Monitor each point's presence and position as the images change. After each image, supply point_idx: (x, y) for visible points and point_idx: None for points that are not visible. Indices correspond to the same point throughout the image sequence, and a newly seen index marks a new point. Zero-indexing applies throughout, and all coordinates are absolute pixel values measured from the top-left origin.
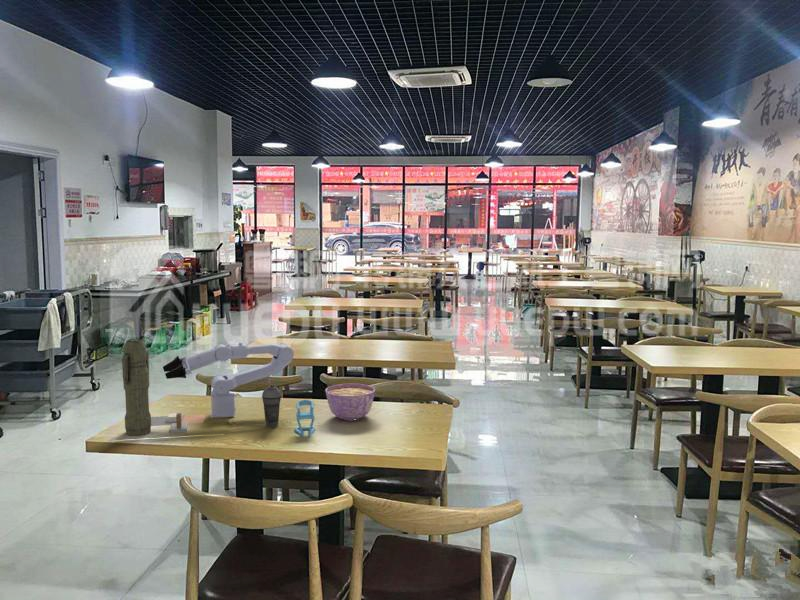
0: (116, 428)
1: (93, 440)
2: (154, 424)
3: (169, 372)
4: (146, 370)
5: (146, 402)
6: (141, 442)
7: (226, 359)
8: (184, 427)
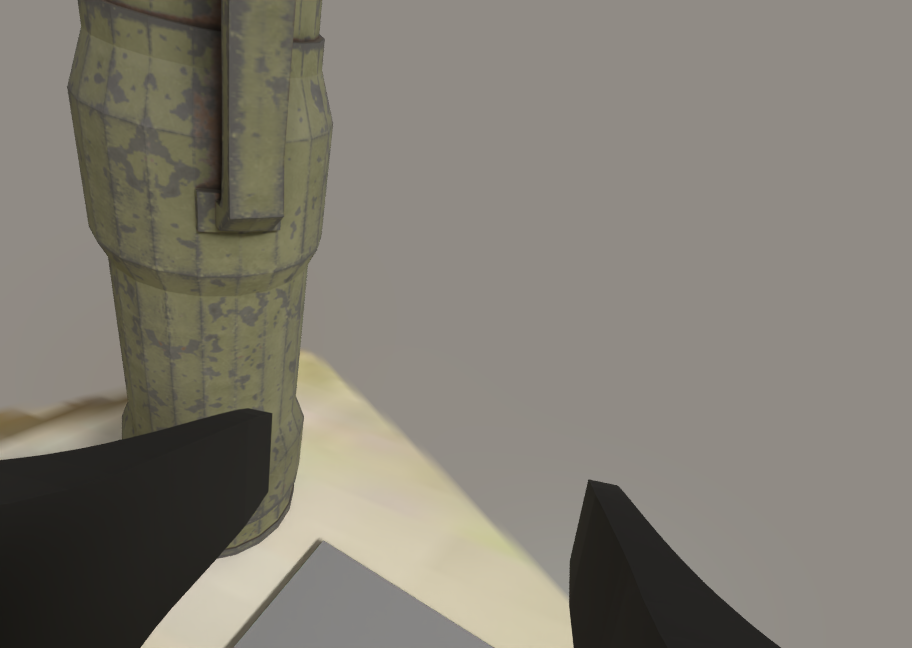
0: (406, 462)
1: (305, 353)
2: (285, 632)
3: (186, 428)
4: (82, 62)
5: (124, 351)
6: (52, 440)
7: None
8: None
